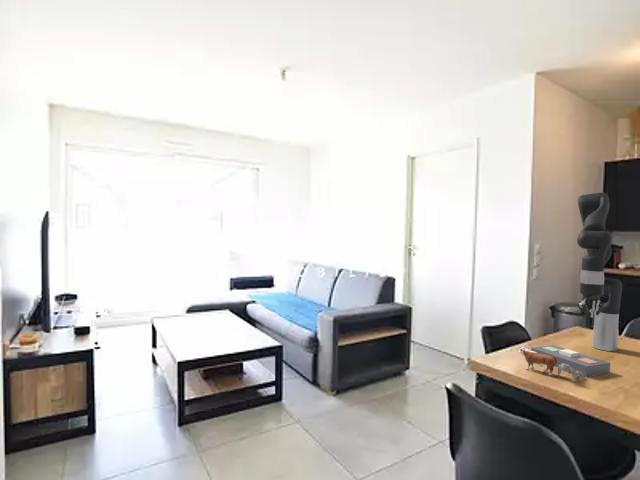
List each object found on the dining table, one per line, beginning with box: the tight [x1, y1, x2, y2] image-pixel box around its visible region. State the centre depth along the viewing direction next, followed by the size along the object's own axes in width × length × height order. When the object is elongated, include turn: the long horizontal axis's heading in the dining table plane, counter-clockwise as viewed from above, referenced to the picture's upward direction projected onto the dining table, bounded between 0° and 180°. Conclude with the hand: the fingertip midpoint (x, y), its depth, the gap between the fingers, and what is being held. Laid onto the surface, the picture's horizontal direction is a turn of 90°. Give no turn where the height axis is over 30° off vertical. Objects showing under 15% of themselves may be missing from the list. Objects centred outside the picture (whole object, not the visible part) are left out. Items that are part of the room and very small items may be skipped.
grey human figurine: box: [557, 363, 584, 384], centre depth 137 cm, size 6×5×12 cm
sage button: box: [543, 347, 559, 352], centre depth 160 cm, size 5×5×3 cm
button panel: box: [530, 344, 611, 378], centre depth 153 cm, size 14×23×4 cm, turn 22°
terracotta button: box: [577, 358, 598, 364], centre depth 146 cm, size 5×5×3 cm
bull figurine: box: [518, 346, 557, 376], centre depth 144 cm, size 4×13×8 cm, turn 44°
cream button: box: [559, 348, 580, 358], centre depth 153 cm, size 5×5×3 cm
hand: (589, 326), depth 147 cm, fingers closed
